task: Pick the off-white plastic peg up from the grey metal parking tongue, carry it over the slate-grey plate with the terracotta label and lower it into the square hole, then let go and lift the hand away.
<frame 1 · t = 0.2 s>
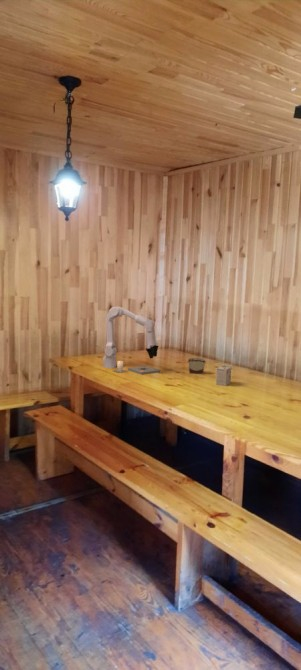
hand: (153, 357, 335), 11 cm above the table, tool pointing down, fingers open, 7 cm apart
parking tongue: (119, 372, 331), on the table
food container: (196, 373, 340), on the table
hole plate: (143, 372, 334), on the table
peg: (120, 371, 331), point 1 cm above the table, touching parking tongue
light bulb box: (223, 384, 309), on the table
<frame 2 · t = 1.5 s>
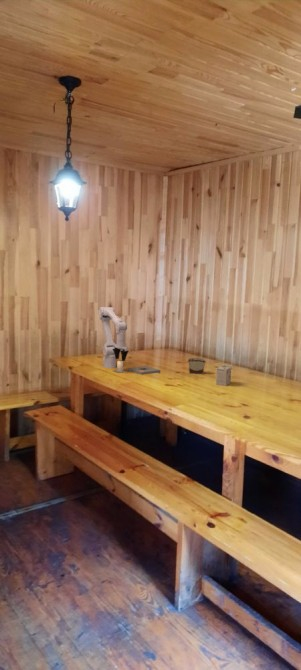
hand: (120, 359, 330), 9 cm above the table, tool pointing down, fingers open, 7 cm apart
nothing on the table moved.
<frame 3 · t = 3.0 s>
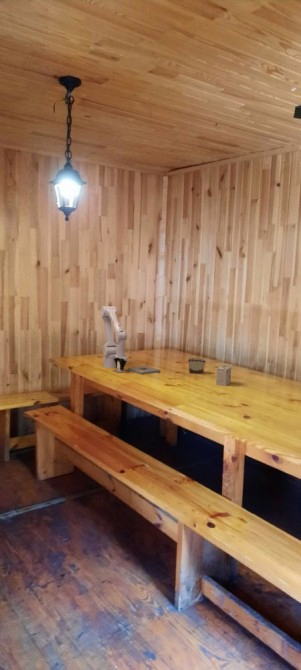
hand: (120, 369, 330), 2 cm above the table, tool pointing down, fingers closed on peg, 4 cm apart
peg: (120, 371, 331), point 1 cm above the table, touching gripper, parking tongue
everything else where it was.
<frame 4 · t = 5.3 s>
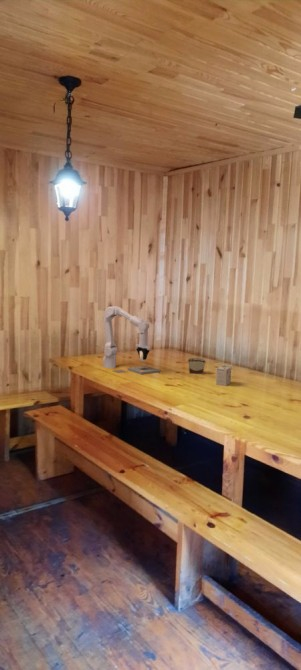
hand: (142, 359, 333), 9 cm above the table, tool pointing down, fingers closed on peg, 4 cm apart
peg: (142, 361, 333), point 8 cm above the table, touching gripper
everything else where it was.
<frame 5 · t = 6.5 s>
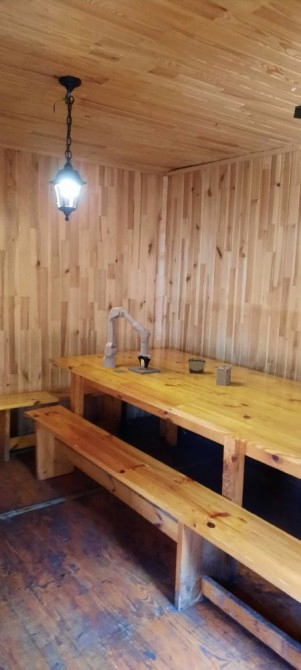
hand: (144, 367, 334), 4 cm above the table, tool pointing down, fingers closed on peg, 4 cm apart
peg: (143, 369, 334), point 2 cm above the table, touching gripper
everything else where it was.
when the fingers open (3 cm above the table, at t = 7.5 s): peg drops 2 cm, resting in hole plate.
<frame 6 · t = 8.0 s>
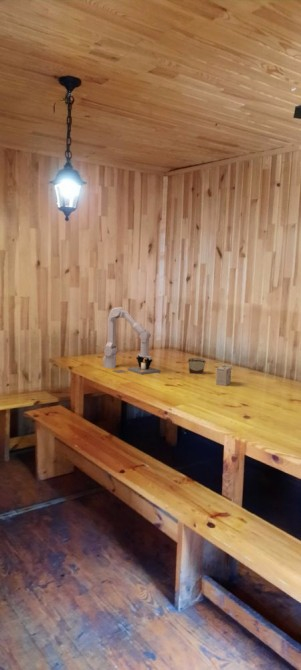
hand: (144, 368, 334), 3 cm above the table, tool pointing down, fingers open, 7 cm apart
peg: (143, 372, 334), resting in hole plate
everything else where it was.
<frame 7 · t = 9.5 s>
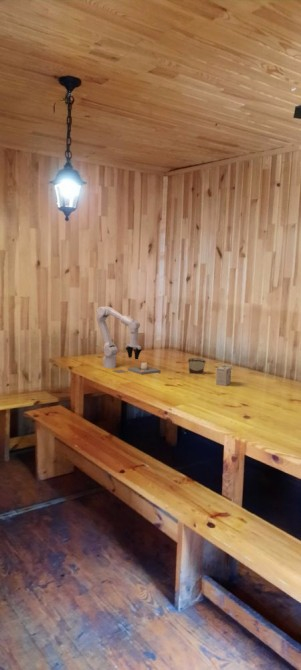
hand: (133, 358, 335), 9 cm above the table, tool pointing down, fingers open, 7 cm apart
nothing on the table moved.
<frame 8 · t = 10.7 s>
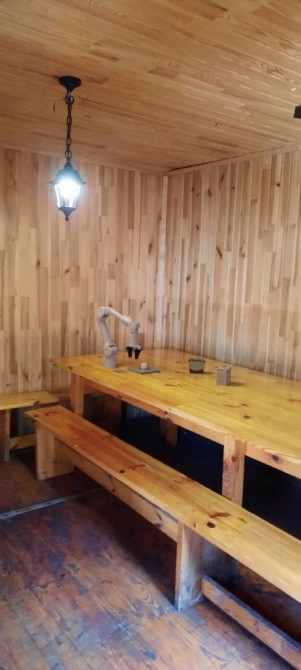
hand: (133, 358, 335), 9 cm above the table, tool pointing down, fingers open, 7 cm apart
nothing on the table moved.
at the end: peg 0.1 cm off-centre on the hole plate, point 0.0 cm above the hole plate's base; peg tilted 0°; the gripper is holding nothing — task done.
